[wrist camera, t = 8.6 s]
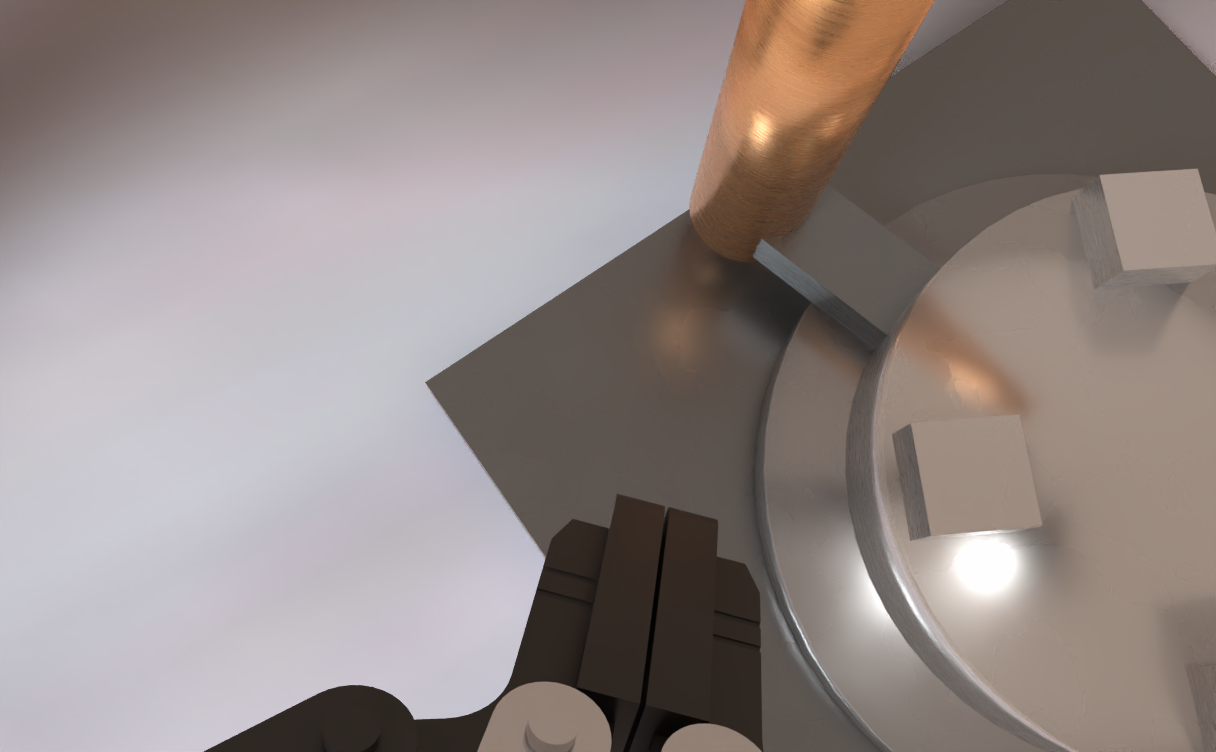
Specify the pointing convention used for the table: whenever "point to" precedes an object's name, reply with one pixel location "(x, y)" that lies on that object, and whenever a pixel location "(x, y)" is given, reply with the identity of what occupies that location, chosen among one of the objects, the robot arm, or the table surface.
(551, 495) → the base plate
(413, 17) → the table surface
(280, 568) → the table surface
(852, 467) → the grey disc with handle
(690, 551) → the robot arm
